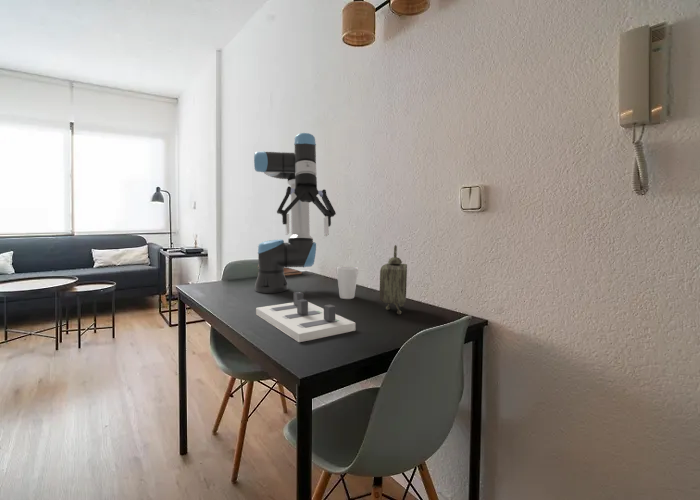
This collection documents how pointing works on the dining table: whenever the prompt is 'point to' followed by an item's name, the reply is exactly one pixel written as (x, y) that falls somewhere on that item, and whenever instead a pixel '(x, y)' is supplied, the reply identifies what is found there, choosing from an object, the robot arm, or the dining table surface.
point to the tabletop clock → (393, 282)
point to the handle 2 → (329, 312)
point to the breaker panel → (304, 321)
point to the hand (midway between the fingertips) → (307, 234)
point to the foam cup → (347, 281)
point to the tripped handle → (302, 306)
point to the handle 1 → (297, 297)
